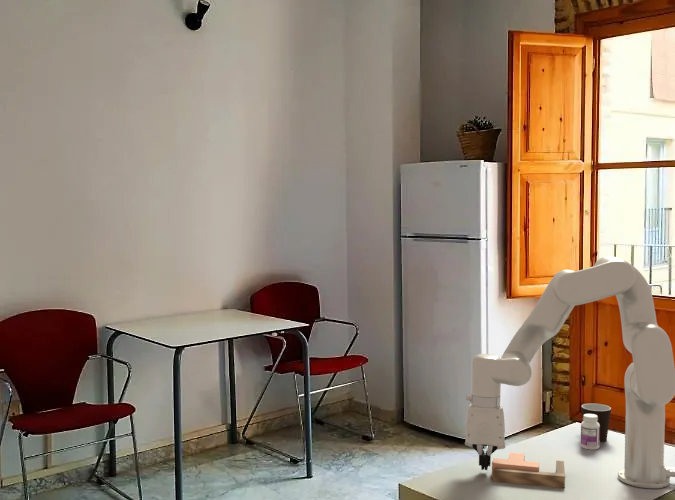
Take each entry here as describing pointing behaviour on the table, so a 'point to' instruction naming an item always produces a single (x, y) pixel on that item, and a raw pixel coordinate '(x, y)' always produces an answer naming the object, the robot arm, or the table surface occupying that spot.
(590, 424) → the pill bottle
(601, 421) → the coffee mug
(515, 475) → the walnut fence
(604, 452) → the table surface
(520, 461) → the t block
